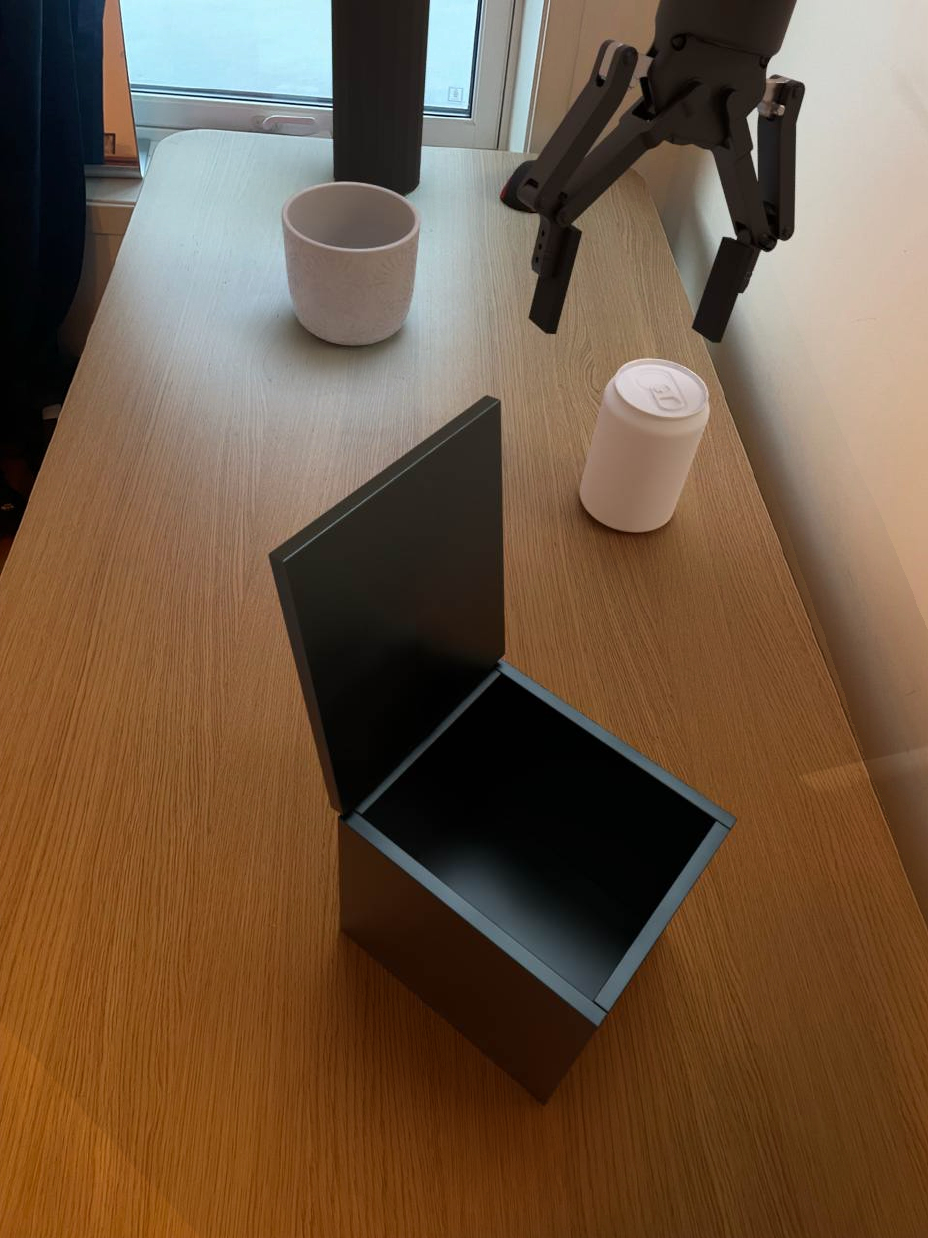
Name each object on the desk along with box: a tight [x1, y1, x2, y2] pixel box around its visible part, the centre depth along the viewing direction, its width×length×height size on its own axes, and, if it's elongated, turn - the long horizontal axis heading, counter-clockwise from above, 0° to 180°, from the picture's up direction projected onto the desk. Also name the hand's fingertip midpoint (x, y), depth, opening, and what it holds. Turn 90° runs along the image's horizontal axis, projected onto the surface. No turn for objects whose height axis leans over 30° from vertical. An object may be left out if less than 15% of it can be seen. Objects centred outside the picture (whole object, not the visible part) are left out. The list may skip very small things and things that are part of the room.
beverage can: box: [579, 358, 711, 533], centre depth 75 cm, size 8×8×12 cm
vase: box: [330, 0, 431, 196], centre depth 100 cm, size 10×10×30 cm
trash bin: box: [337, 658, 738, 1107], centre depth 50 cm, size 15×13×14 cm
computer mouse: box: [500, 159, 537, 213], centre depth 111 cm, size 6×11×4 cm, turn 149°
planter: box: [280, 181, 421, 346], centre depth 88 cm, size 12×12×11 cm
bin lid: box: [267, 394, 506, 815], centre depth 41 cm, size 15×13×1 cm
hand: (627, 331), depth 65 cm, fingers open, 13 cm apart
